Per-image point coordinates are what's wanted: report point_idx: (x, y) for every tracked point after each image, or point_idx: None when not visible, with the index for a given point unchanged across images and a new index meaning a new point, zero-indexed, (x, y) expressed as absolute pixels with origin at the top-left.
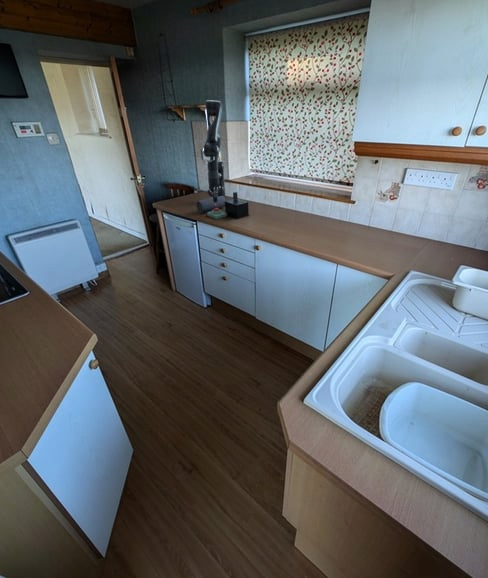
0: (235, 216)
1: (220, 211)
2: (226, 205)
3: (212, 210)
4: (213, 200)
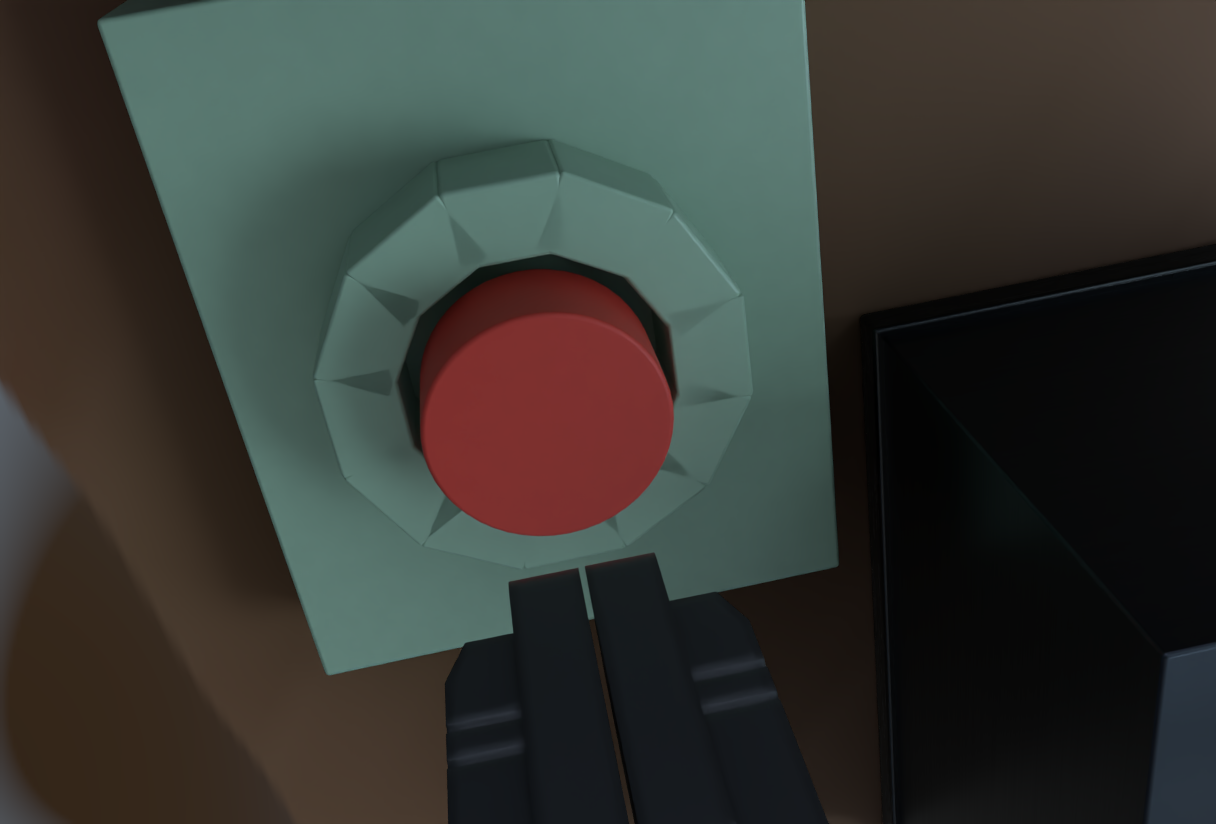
0: (907, 815)
1: (660, 507)
2: (1047, 639)
3: (374, 271)
4: (453, 727)
